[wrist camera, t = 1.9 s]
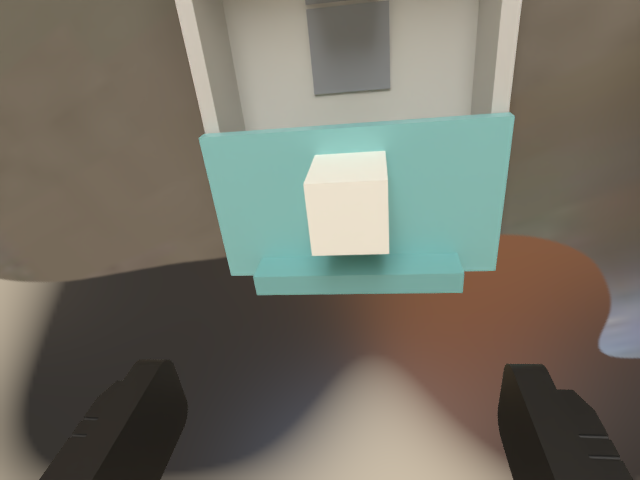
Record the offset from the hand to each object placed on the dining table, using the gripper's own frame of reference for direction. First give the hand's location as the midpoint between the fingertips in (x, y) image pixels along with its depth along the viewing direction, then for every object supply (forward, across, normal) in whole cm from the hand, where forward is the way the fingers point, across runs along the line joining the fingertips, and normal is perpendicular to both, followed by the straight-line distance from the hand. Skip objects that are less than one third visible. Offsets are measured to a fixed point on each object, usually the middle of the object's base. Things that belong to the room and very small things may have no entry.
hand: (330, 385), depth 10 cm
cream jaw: (+13, 0, 0) cm, 13 cm away
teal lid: (+14, 0, +1) cm, 14 cm away
